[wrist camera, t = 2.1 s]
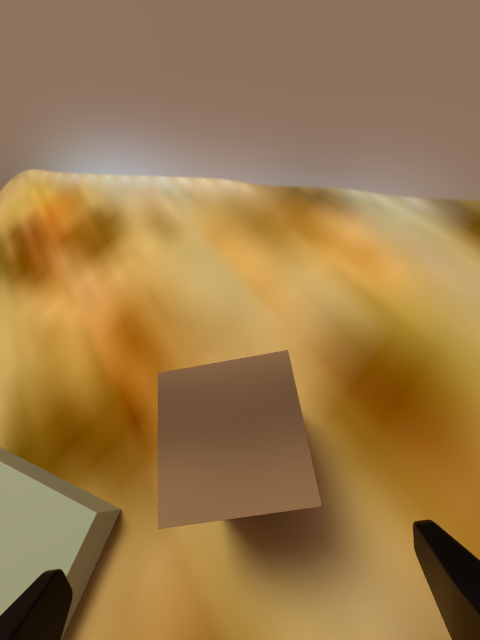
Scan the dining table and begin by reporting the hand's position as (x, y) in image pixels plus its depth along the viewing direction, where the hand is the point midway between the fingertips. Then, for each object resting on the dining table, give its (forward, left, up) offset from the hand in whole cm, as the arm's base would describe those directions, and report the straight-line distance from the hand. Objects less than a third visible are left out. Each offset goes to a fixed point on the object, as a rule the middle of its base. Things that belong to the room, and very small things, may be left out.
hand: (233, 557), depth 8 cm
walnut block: (+3, +2, -10) cm, 11 cm away
